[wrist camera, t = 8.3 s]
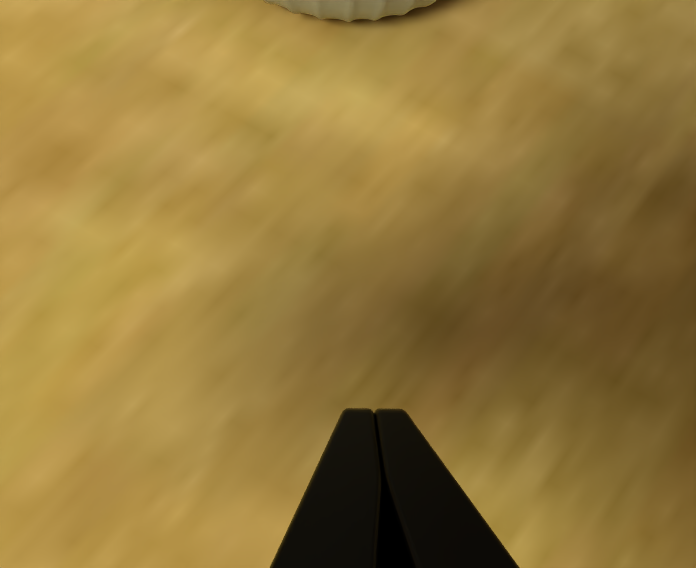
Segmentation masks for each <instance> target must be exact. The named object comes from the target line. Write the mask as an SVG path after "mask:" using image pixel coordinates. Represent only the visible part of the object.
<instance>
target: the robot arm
mask: <svg viewBox="0 0 696 568" xmlns="http://www.w3.org/2000/svg"><path fill="white" fill-rule="evenodd" d="M270 568H519V566H518V565H517V564H516V562H515V561H514V560H513V558H512V557H511V556H510V554H509V553H508V551H507V550H506V549H505V547H504V546H503V545H502V543H501V542H500V540H499V539H498V538H497V536H496V535H495V534H494V532H493V531H492V529H491V528H490V527H489V525H488V524H487V523H486V521H485V520H484V518H483V517H482V516H481V514H480V513H479V512H478V510H477V509H476V507H475V506H474V505H473V503H472V502H471V501H470V499H469V498H468V496H467V495H466V494H465V492H464V491H463V490H462V488H461V487H460V485H459V484H458V483H457V481H456V480H455V479H454V477H453V476H452V474H451V473H450V472H449V470H448V469H447V468H446V466H445V465H444V463H443V462H442V461H441V459H440V458H439V457H438V455H437V454H436V452H435V451H434V450H433V448H432V447H431V446H430V444H429V443H428V441H427V440H426V439H425V437H424V436H423V435H422V433H421V432H420V430H419V429H418V428H417V426H416V425H415V424H414V422H413V421H412V419H411V418H410V417H409V415H408V414H407V413H406V412H405V411H404V410H402V409H377V410H376V411H375V412H374V413H373V411H372V410H371V409H367V408H347V409H345V410H344V411H343V412H342V413H341V415H340V418H339V420H338V422H337V424H336V426H335V428H334V431H333V433H332V435H331V437H330V439H329V441H328V443H327V446H326V448H325V450H324V452H323V454H322V456H321V459H320V461H319V463H318V465H317V467H316V469H315V471H314V474H313V476H312V478H311V480H310V482H309V484H308V487H307V489H306V491H305V493H304V495H303V497H302V499H301V502H300V504H299V506H298V508H297V510H296V512H295V514H294V517H293V519H292V521H291V523H290V525H289V527H288V530H287V532H286V534H285V536H284V538H283V540H282V542H281V545H280V547H279V549H278V551H277V553H276V555H275V558H274V560H273V562H272V564H271V566H270Z"/></svg>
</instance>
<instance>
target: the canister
mask: <svg viewBox="0 0 696 568" xmlns="http://www.w3.org/2000/svg"><path fill="white" fill-rule="evenodd" d="M264 1H265V2H266V3H268V4H276V5H279V6H282V7H285V8H287V9H288V10H289V11H291V12H292V13H294V14H297V13H305V14H309V15H313V16H315V17H317V18H318V19H320V20H322V19H326V18H332V19H340V20H344V21H346V22H350V21H352V20H356V19H370V20H373V21H375V20H378V19H380V18H382V17H385V16H390V15H398V16H401V15H404V14H406V13H407V12H409V11H410V10H412V9H414V8H418V7H427V6H430V5H431V4H432V3H434V2H435V1H436V0H264Z"/></svg>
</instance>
